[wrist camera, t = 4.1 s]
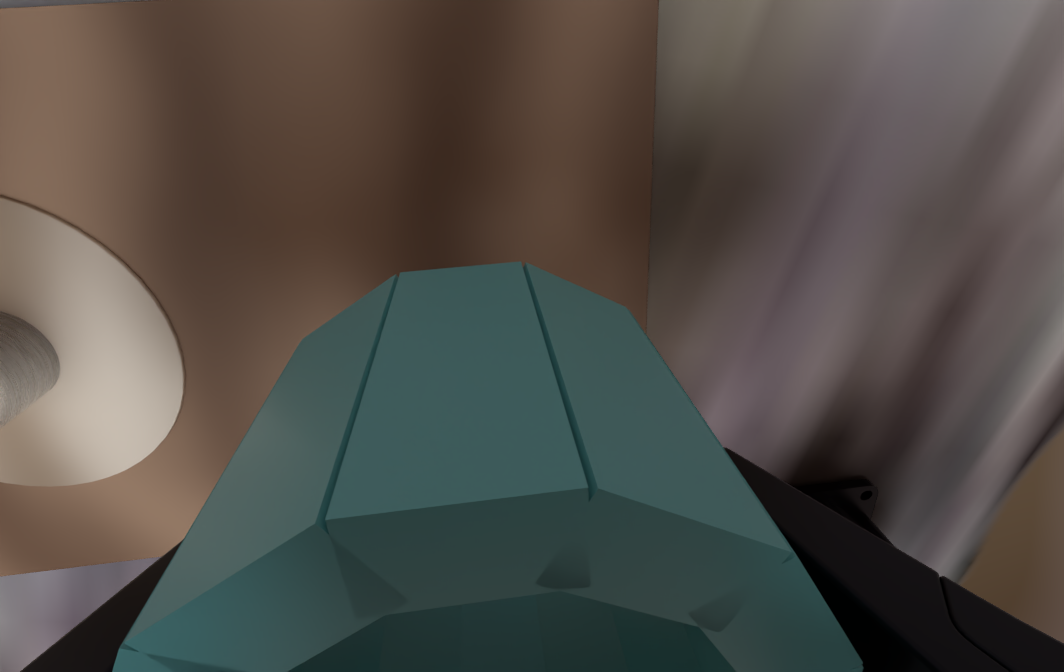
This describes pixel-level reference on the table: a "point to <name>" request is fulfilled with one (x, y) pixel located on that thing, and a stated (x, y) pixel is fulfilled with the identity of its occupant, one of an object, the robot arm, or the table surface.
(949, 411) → the table surface
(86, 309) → the base board
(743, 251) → the table surface
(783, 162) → the table surface
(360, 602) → the collar
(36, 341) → the steel pin
